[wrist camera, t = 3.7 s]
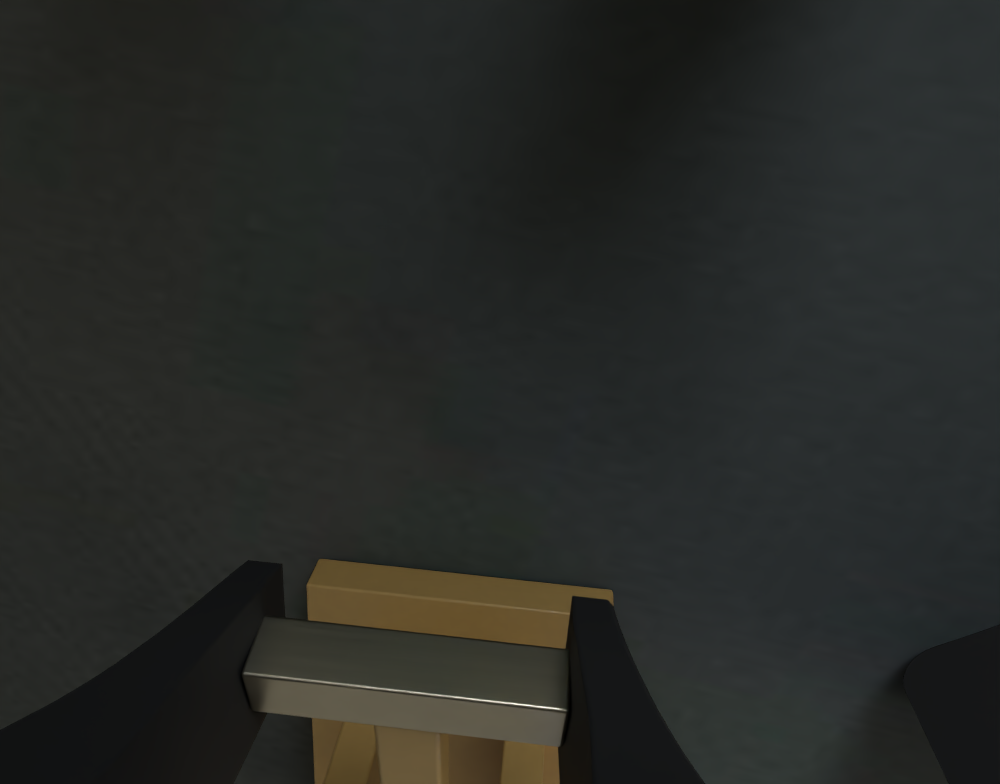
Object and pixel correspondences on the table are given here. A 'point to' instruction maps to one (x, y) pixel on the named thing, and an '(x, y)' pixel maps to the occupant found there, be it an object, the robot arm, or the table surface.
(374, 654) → the handle
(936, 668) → the nameplate
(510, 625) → the wooden lever stand
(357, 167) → the table surface
